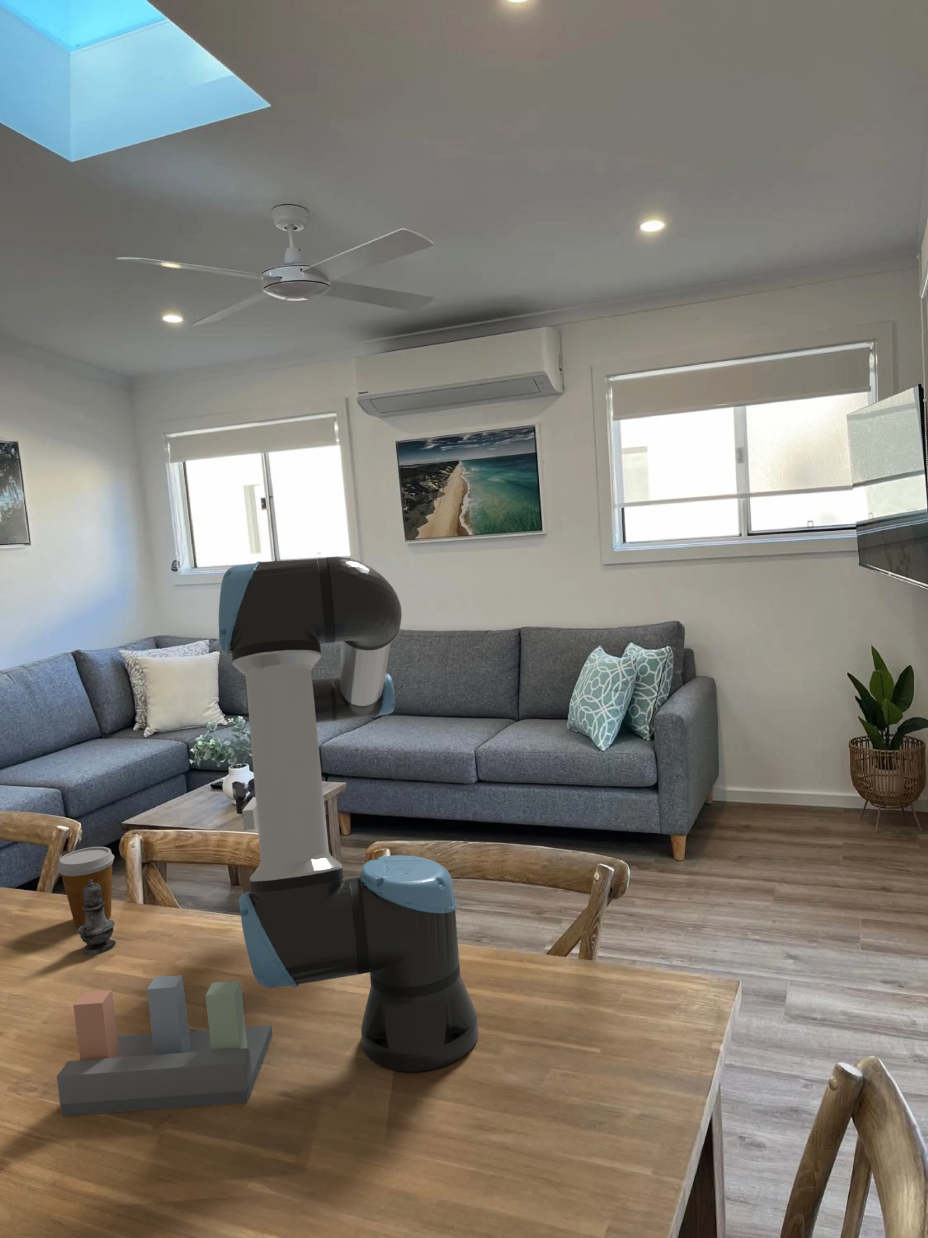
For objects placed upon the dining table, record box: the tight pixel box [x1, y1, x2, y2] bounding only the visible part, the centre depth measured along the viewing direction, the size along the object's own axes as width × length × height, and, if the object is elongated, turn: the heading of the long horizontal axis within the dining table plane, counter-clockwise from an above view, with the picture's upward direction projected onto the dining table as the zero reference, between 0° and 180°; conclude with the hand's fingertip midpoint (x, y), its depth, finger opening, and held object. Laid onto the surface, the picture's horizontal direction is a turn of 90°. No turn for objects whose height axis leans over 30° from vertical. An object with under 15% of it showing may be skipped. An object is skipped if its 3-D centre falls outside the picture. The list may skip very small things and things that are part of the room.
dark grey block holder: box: [56, 1024, 274, 1117], centre depth 111 cm, size 22×14×5 cm, turn 90°
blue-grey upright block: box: [146, 974, 191, 1055], centre depth 111 cm, size 4×3×10 cm
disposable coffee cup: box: [56, 846, 115, 927], centre depth 161 cm, size 10×10×12 cm
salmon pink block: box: [73, 989, 120, 1060], centre depth 109 cm, size 4×3×10 cm
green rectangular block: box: [204, 980, 247, 1051], centre depth 109 cm, size 4×3×10 cm
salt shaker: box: [77, 879, 116, 956], centre depth 149 cm, size 6×6×12 cm
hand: (248, 819), depth 122 cm, fingers closed
